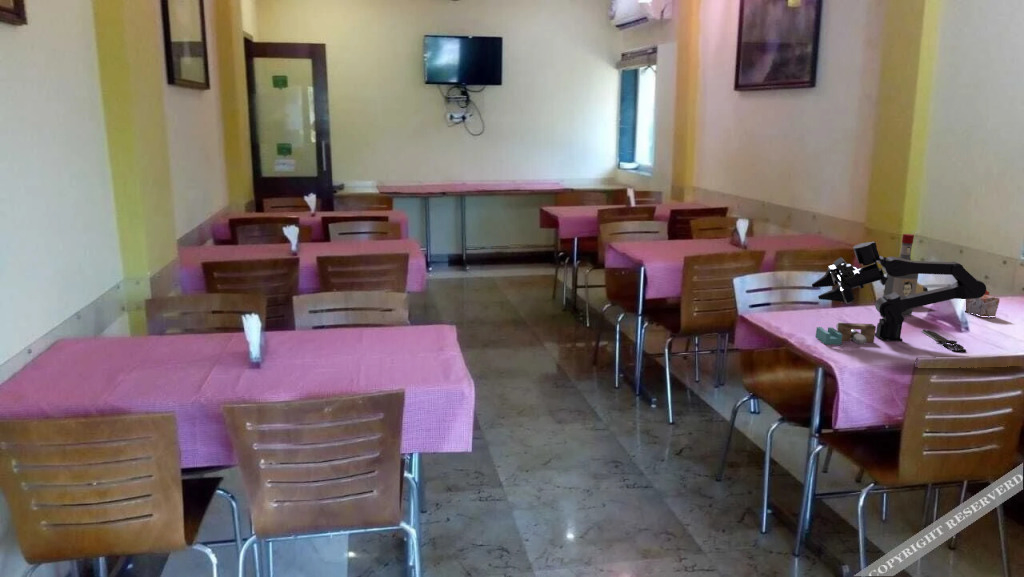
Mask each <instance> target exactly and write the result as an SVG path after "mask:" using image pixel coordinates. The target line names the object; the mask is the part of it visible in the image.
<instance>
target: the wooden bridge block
mask: <svg viewBox="0 0 1024 577" xmlns="http://www.w3.org/2000/svg"><path fill="white" fill-rule="evenodd" d="M838 323H839V322H838ZM838 323H837V324H838ZM852 329H854V330H860V332H859V333H860V334H862V335H864V336H865V337H866V339H867V340H866V343H874V341H875V336H876V335H875V333H876V331H877V325H876V326H875V325H874V324H873V323H854V322H853V323H852V322H843V323H839V324H838V330H837V331H838V332H840V333H841V334H843V335H842V342H851V340H852V339H851V333H852Z"/></svg>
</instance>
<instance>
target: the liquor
mask: <svg viewBox="0 0 1024 577" xmlns="http://www.w3.org/2000/svg"><path fill="white" fill-rule="evenodd" d="M914 238H915V235H914V234H911V233H904V234H902V237H901V248H900V252H899V253H900V254H899V257H898V258H903V259H907V260H911V261H912V258H911V256H912V255H911V254H912V248H913V243H914ZM885 277H887V278H888V280H887V281H886V283H885V285H884V290H883V295H889V294H891V293H894V292H896V293H897V294H898V295H899V296H908V295H912V294H915V293H916V286H917V282H918V279H919V274H910V275H906V276H898V277H893V276H890V275H889V274H887V273H886V276H885ZM883 295H882V297H884V296H883ZM913 310H914V308H911V309H908V310H906V311H905V312H903V313H902V314H901V315H902V316H903V317H910V316H911V315H912V313H913V312H914V311H913Z"/></svg>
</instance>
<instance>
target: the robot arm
mask: <svg viewBox="0 0 1024 577" xmlns="http://www.w3.org/2000/svg"><path fill="white" fill-rule="evenodd" d="M852 248H853V251H854V254H855V257H856V260H857V263H858V264H859V265H862V266H863V267H859V268H857V267H855V266H852V264H851V263H847V262H846V260H844V258H843V257H841V256H840V257H839V258H837V259H836V260H834V261H833V264H831V265H828V268H827V270H826V272H825V274H824V275H823V276H822V277H820V278H819V279H818V280H816V281H814V282H813V283H811V287H812V288H823V287H826V288H827V287H834V288H833V289H831V290H829V291H826V292H824V293H821V294H820V295H817V298H818V300H825V301H833V302H840V303H846V304H847V305H849V304H851V303H854V301H855V300H856V299H855V295H854V294H855V293H854V291H853V289H856V288H860V289H864V287H865V286H866V285H868V284H871V283H874V282H877V281H879V283H880V284H881V285H882V286H885V283H886V281H887V280H888V278H887V277H886V276H885V274H884V272H885V273H886V275H887V274H889V275H890V276H893V277H898V276H906V275H910V274H918V275H921V274H923V275H944V276H945V275H947V276H949V275H950V276H952V278H954V280H955V282H954V283H952V284H951V285H948V286H944V287H940V288H935V289H930V290H928V291H926V292H921V293H917V294H912V295H908V296H899V295H898V294H897V293H896V292H894V293H891V294H889V295H884V294H882V296H880V297H879V298H877V300H876V301H875V303H874V306H875V310H876V311H877V312H878V313H879V315H880V317H881V318H879V321H878V323H877V325H876V330H875V336H876V337H878V338H879V339H881V340H882V341H899V342H901V341H902V342H903V338H902V337H901V333H902V329H903V328H902V327H903V323H904V321H905V319H906V318H905V316H902V315H901V314H902V313H903V312H905V311H906V310H908V309H911V308H913V309H914V308H919V307H924V306H930V305H932V304H938V303H940V302H947V301H951V300H955V299H956V300H957V299H959V300H961V299H975V298H980V297H982V296H984V294H985V293H986V290H987V285H986V283H984V282H983V281H981V280H980V279H978V278H976V277H974V276H973V275H972V274H970V273H969V271H967V270H966V269H965V268H964V265H963V264H961V263H959V262H957V261H929V260H928V261H926V260H924V261H922V260H912V259H911V260H907V259H903V258H899V257H898V256H897V257H896V256H888V257H885V256H882V255H880V253H879V251H878V249H877V244H876V241H870V242H861V243H858V244H856V245H854V246H853V247H852ZM878 264H879V265H880V266H881V267H879V266H878ZM883 296H884V297H883Z"/></svg>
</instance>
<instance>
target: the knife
mask: <svg viewBox="0 0 1024 577" xmlns="http://www.w3.org/2000/svg"><path fill="white" fill-rule="evenodd" d="M921 333H923V334H925V335H926V336H928V337H930V338H932V339H933V340H934V341H936V343H937V344H939V345H942V347H943V346H944V347H943V348H945V349H946V348H947V349H948V348H949V349H951V352H953V353H963V354H964V353H967V350H966V349H965V348H964V346H962V345H961V344H960V343H958V341H956V340H952V339H951V340H949V339H947V338H946V337H944V336H942V335H941V334H939V333H937V332H936V331H933V330H928V329H927V330H926V329H922V330H921ZM947 343H950V344H947ZM951 344H952V345H951ZM953 344H954V345H953Z"/></svg>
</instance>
